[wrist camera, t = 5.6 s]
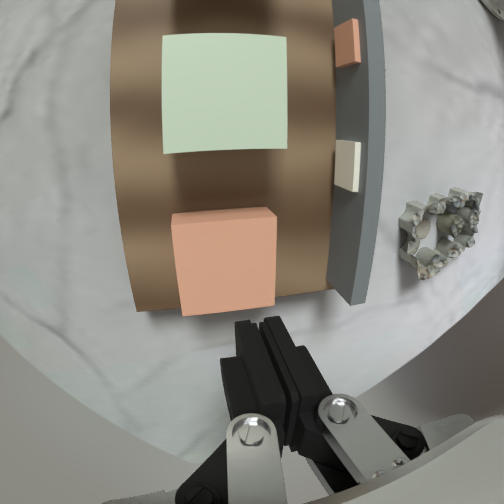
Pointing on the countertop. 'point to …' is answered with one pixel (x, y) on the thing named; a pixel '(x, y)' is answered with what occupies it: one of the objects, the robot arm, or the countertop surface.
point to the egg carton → (453, 224)
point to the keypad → (257, 160)
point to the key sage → (223, 92)
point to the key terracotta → (225, 259)
